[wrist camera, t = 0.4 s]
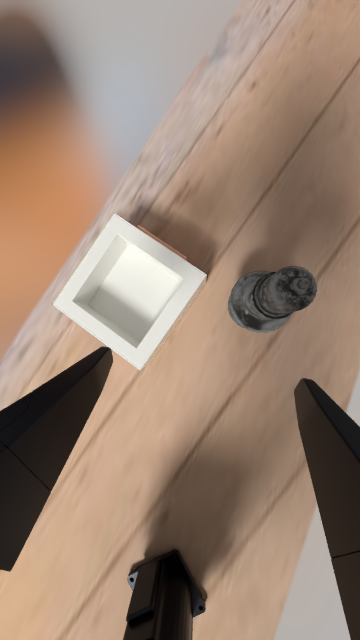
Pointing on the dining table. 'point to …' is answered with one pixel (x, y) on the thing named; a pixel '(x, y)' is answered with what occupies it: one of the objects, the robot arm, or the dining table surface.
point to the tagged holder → (131, 291)
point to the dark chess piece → (270, 297)
